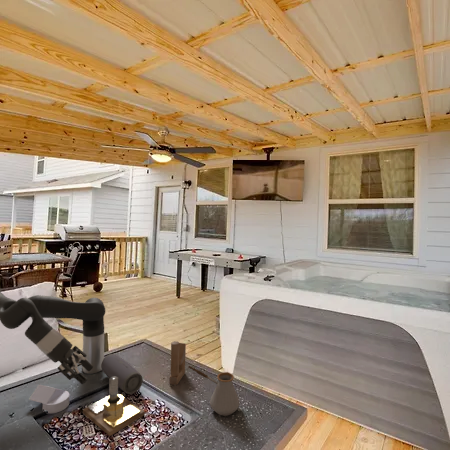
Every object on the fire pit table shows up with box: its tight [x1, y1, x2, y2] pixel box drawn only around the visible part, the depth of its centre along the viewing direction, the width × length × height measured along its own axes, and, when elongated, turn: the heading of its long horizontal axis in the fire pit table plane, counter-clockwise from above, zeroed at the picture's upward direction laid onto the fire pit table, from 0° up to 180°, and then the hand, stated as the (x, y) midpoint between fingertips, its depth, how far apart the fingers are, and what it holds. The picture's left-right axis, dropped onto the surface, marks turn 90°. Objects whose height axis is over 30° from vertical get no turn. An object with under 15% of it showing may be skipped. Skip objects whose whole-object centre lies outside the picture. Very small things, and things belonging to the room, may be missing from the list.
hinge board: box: [82, 397, 145, 437], centre depth 114 cm, size 18×14×2 cm
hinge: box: [86, 393, 140, 429], centre depth 114 cm, size 17×11×4 cm, turn 52°
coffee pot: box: [186, 365, 240, 417], centre depth 119 cm, size 21×12×15 cm, turn 77°
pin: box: [108, 376, 119, 404], centre depth 114 cm, size 3×3×12 cm
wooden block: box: [168, 340, 187, 386], centre depth 139 cm, size 4×11×18 cm, turn 168°
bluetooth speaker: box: [101, 353, 144, 395], centre depth 133 cm, size 23×9×10 cm, turn 44°
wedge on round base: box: [28, 384, 70, 414], centre depth 118 cm, size 9×7×13 cm
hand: (88, 375), depth 111 cm, fingers open, 8 cm apart
